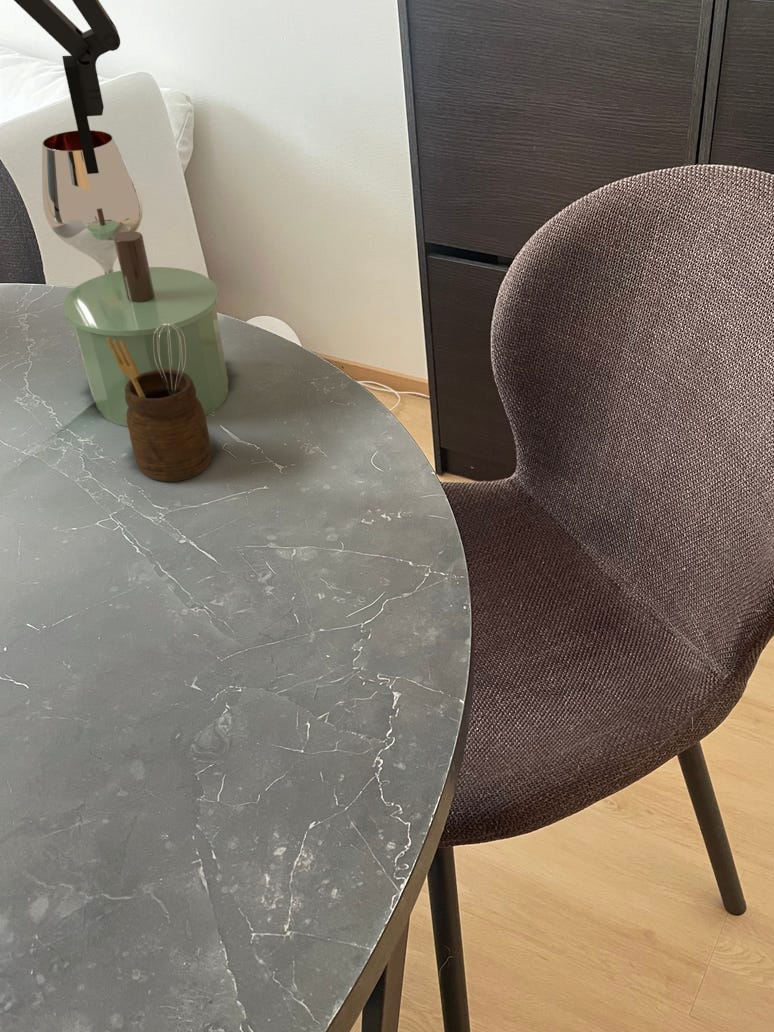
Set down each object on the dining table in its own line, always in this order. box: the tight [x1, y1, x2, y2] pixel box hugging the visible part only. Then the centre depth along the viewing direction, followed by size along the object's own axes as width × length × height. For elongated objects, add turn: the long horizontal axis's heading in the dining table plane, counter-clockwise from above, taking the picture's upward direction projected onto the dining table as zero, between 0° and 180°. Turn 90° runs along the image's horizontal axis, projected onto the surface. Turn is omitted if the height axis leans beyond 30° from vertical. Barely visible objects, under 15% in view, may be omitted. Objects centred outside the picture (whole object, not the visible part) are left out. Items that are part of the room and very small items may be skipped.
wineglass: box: [41, 129, 144, 275], centre depth 93 cm, size 8×8×18 cm
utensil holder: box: [107, 323, 212, 482], centre depth 79 cm, size 6×6×12 cm
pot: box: [72, 305, 229, 428], centre depth 89 cm, size 11×11×8 cm
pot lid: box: [62, 231, 220, 336], centre depth 84 cm, size 12×12×6 cm
